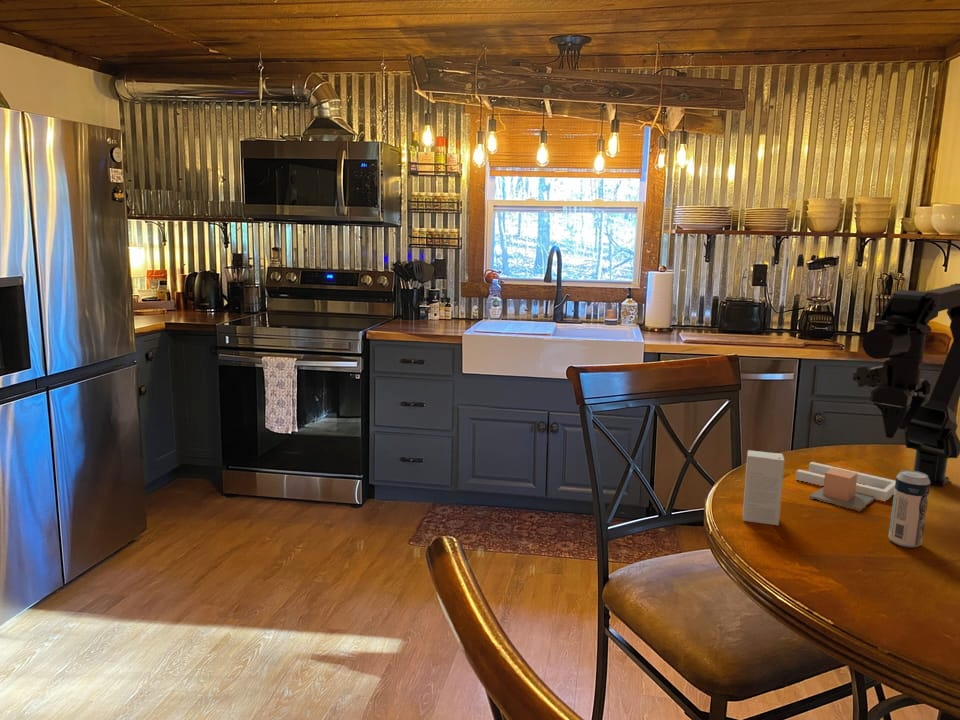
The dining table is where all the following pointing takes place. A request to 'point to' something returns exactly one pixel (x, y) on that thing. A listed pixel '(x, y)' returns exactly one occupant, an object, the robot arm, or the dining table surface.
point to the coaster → (855, 502)
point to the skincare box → (763, 487)
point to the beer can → (909, 508)
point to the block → (840, 484)
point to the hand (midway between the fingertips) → (895, 433)
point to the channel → (872, 487)
